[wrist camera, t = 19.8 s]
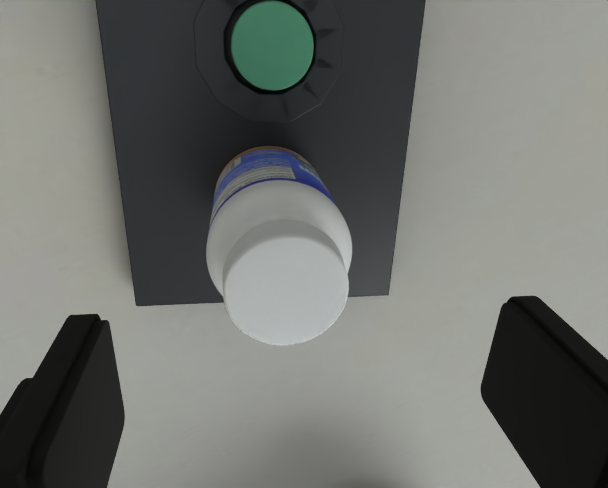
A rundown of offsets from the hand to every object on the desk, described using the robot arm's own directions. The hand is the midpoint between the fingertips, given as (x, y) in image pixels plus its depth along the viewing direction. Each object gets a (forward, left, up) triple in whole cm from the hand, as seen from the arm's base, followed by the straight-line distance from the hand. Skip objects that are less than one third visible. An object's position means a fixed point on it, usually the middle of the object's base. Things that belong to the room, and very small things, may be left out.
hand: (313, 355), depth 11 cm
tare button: (-7, 0, -12) cm, 14 cm away
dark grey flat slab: (-2, 0, -15) cm, 15 cm away
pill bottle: (0, 0, -14) cm, 13 cm away
